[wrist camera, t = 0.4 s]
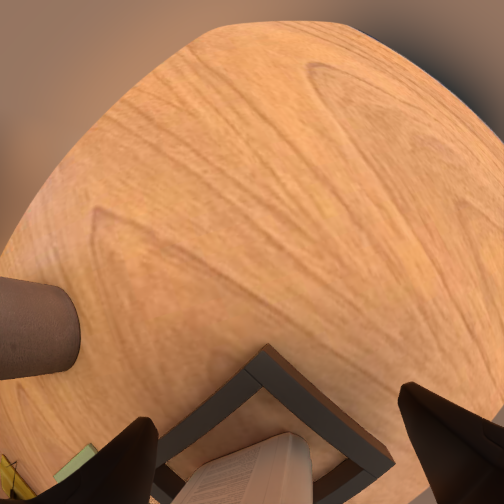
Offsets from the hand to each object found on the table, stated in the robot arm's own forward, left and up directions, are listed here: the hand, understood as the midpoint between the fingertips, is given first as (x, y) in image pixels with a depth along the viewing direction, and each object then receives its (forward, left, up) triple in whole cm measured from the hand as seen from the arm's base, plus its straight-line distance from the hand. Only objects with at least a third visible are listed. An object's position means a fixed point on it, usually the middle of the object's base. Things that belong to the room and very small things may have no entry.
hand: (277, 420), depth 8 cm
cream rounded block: (-5, +9, -12) cm, 16 cm away
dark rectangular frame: (-5, +9, -12) cm, 16 cm away
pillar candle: (+18, +17, -12) cm, 28 cm away
